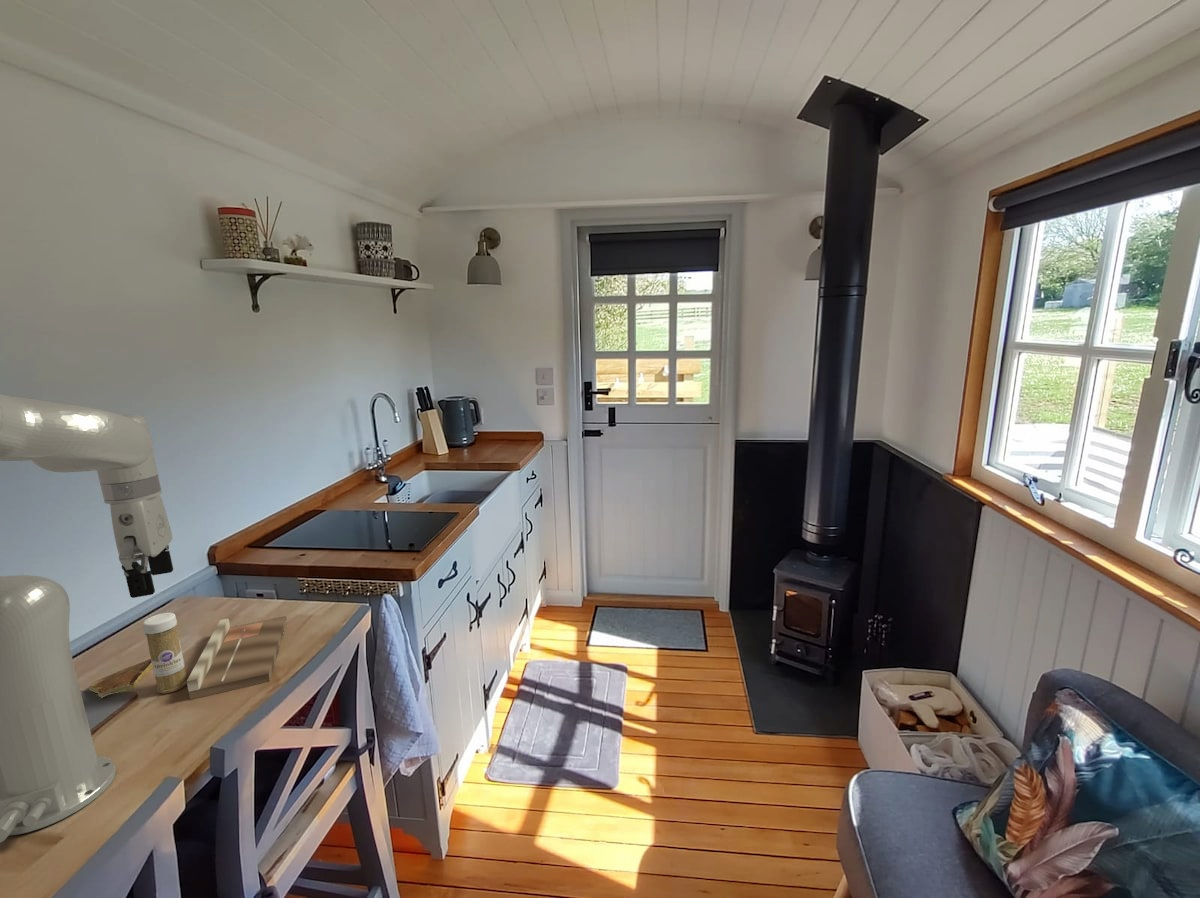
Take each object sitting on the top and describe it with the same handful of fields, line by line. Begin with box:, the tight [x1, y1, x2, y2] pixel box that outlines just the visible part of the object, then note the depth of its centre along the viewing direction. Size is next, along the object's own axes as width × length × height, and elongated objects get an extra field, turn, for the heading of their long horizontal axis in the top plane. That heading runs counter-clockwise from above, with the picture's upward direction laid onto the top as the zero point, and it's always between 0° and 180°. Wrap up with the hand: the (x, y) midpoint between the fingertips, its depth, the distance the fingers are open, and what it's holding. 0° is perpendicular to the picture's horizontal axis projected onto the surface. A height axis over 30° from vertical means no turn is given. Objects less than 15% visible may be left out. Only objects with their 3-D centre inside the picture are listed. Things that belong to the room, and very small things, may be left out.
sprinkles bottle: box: [142, 612, 188, 694], centre depth 99 cm, size 5×5×14 cm
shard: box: [88, 657, 153, 697], centre depth 103 cm, size 11×8×2 cm
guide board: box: [186, 615, 288, 700], centre depth 109 cm, size 24×12×4 cm, turn 22°
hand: (153, 583), depth 97 cm, fingers open, 9 cm apart
